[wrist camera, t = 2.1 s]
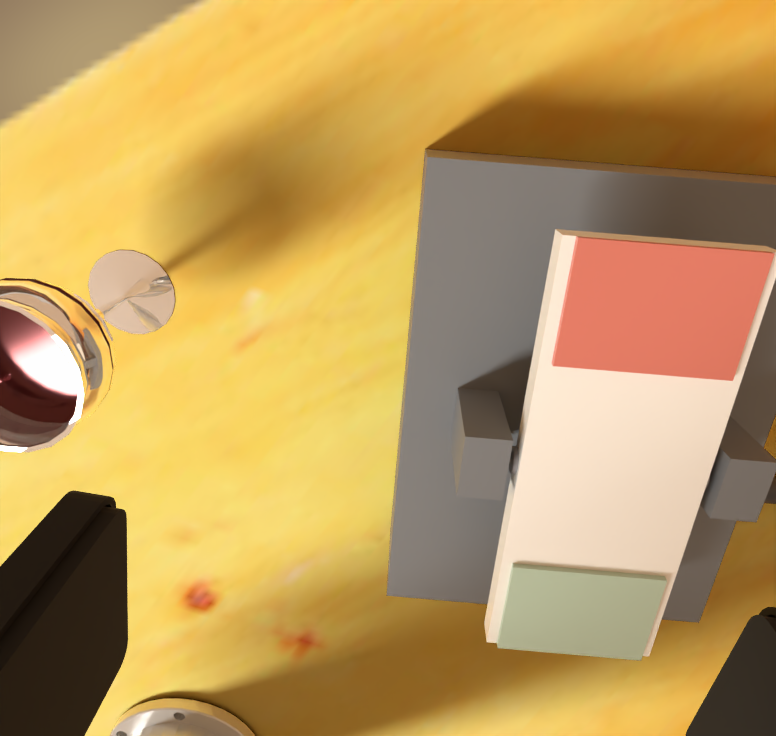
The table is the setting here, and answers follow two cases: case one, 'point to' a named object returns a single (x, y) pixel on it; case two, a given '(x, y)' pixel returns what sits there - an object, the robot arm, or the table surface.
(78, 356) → the wineglass
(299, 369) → the table surface
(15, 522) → the table surface
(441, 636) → the table surface
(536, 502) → the breaker paddle
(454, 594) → the box
